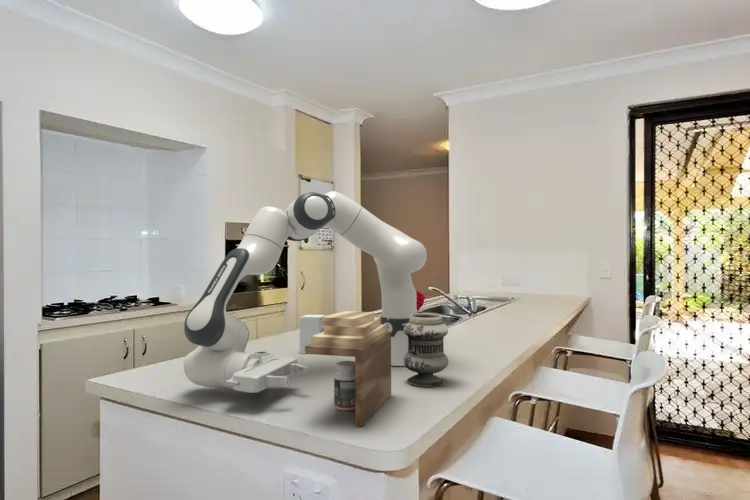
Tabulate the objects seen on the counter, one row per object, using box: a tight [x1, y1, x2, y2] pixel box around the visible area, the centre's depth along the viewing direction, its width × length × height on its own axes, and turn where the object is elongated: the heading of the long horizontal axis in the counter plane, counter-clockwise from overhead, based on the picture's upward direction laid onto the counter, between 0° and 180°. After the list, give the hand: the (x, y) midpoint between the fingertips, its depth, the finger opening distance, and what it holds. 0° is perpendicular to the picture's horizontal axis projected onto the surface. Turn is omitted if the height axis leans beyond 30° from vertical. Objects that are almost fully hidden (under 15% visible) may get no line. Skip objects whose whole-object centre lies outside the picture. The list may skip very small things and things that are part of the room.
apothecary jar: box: [403, 312, 449, 388], centre depth 129 cm, size 12×12×18 cm
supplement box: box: [299, 314, 326, 355], centre depth 167 cm, size 7×7×13 cm
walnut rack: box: [304, 331, 392, 428], centre depth 108 cm, size 12×22×16 cm, turn 163°
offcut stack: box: [311, 310, 386, 348], centre depth 108 cm, size 11×19×5 cm, turn 163°
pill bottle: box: [333, 360, 356, 411], centre depth 109 cm, size 6×6×10 cm
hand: (297, 375), depth 112 cm, fingers open, 8 cm apart
